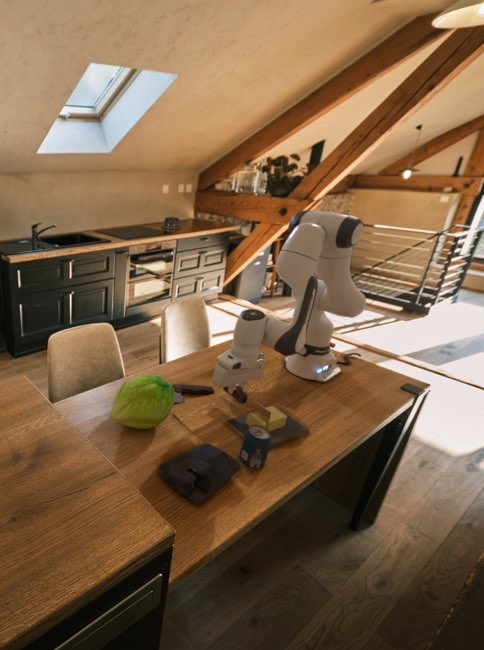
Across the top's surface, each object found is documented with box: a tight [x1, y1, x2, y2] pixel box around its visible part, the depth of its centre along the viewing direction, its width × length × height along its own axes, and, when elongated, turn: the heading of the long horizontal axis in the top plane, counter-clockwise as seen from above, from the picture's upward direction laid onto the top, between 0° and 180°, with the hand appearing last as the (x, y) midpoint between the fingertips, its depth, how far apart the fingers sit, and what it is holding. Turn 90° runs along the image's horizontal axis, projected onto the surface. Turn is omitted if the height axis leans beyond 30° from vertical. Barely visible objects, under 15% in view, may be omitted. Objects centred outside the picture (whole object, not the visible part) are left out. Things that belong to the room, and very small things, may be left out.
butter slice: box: [246, 411, 266, 428], centre depth 124 cm, size 2×6×4 cm, turn 24°
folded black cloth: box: [159, 443, 241, 505], centre depth 108 cm, size 15×22×5 cm
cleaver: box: [171, 384, 215, 404], centre depth 142 cm, size 29×10×2 cm, turn 94°
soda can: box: [238, 425, 272, 470], centre depth 110 cm, size 7×7×12 cm
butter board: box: [226, 404, 309, 446], centre depth 126 cm, size 22×14×6 cm, turn 114°
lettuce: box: [108, 374, 175, 430], centre depth 124 cm, size 19×25×17 cm
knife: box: [222, 385, 271, 421], centre depth 128 cm, size 19×2×4 cm, turn 24°
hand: (235, 391), depth 132 cm, fingers closed on knife, 2 cm apart
